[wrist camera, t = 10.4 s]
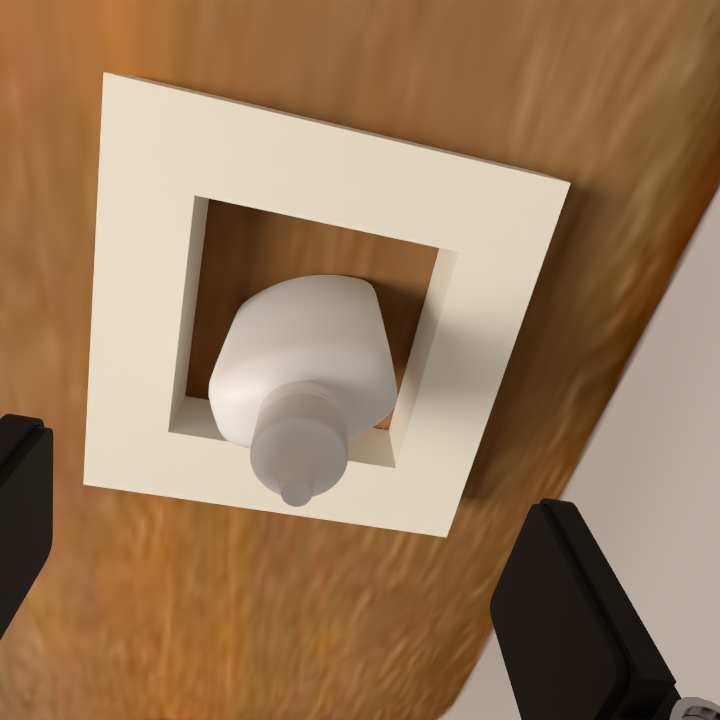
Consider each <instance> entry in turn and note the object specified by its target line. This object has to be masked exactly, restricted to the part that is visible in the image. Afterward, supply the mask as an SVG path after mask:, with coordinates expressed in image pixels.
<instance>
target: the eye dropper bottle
mask: <svg viewBox="0 0 720 720" xmlns="http://www.w3.org/2000/svg"><path fill="white" fill-rule="evenodd" d="M208 396H209V400H210V404H211V408H212V411H213V415H214V418H215V421H216V424H217V426H218V429H219V431H220V433H221V434H222V435H223V437H224V438H225V439H226V440H228V441H229V442H231V443H233V444H235V445H238V446H242V447H245V448H249V449H250V460H251V463H250V464H251V465H252V469H253V470H254V471H253V472H254V473H255V474H256V477H257V478H258V480H259V481H261V483H262V484H263V485H265V487H267V488H268V489H269V490H271V491H272V492H275V493H276V494H279V495H281V497H282V499H283V501H284V502H285V503H286V504H288V505H290V506H294V507H300V506H303V505H305V504H307V503H308V502H309V501H310V500H311V498H312V497H313V496H316V495H320V494H321V493H325V491H328V490H329V489H330V488H333V486H334V485H336V483H337V482H339V479H341V478H342V475H343V474H344V471H345V470H346V466H347V462H348V443H347V441H348V440H350V439H352V438H354V437H356V436H358V435H360V434H362V433H364V432H365V431H367V430H369V429H370V428H372V427H373V426H375V425H376V424H378V423H379V422H381V421H382V420H383V419H384V418H386V417H387V416H388V415H389V414H390V413H391V412H392V410H393V409H394V408H395V406H396V402H397V387H396V380H395V374H394V368H393V363H392V358H391V354H390V349H389V344H388V340H387V336H386V332H385V328H384V324H383V320H382V316H381V312H380V308H379V304H378V300H377V296H376V293H375V290H374V289H373V287H372V285H371V284H369V283H368V282H366V281H365V280H361V279H358V278H353V277H348V276H340V275H311V276H304V277H298V278H294V279H290V280H287V281H284V282H281V283H278V284H276V285H273V286H271V287H269V288H267V289H265V290H263V291H261V292H259V293H257V294H256V295H254V296H253V297H251V298H250V299H248V300H247V301H246V302H244V303H243V304H242V305H241V307H240V308H239V310H238V311H237V313H236V316H235V318H234V320H233V323H232V325H231V328H230V330H229V333H228V335H227V337H226V340H225V342H224V345H223V347H222V350H221V352H220V355H219V357H218V360H217V362H216V365H215V367H214V370H213V373H212V376H211V379H210V382H209V395H208Z"/></svg>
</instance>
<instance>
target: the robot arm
mask: <svg viewBox="0 0 720 720" xmlns="http://www.w3.org/2000/svg"><path fill="white" fill-rule="evenodd" d="M52 538H53V431H52V429H50V428H45V427H44V423H43V421H42V420H41V419H39V418H33V417H26V416H20V415H14V414H6V415H5V416H3V417H2V418H1V419H0V640H1V638H2V636H3V635H4V633H5V631H6V629H7V628H8V626H9V624H10V622H11V621H12V619H13V617H14V616H15V614H16V612H17V610H18V609H19V607H20V605H21V603H22V602H23V600H24V598H25V597H26V595H27V593H28V591H29V590H30V588H31V586H32V584H33V583H34V581H35V579H36V578H37V576H38V574H39V572H40V571H41V569H42V567H43V566H44V564H45V562H46V560H47V558H48V556H49V553H50V550H51V546H52ZM490 614H491V619H492V622H493V625H494V629H495V632H496V635H497V639H498V642H499V645H500V648H501V652H502V655H503V659H504V662H505V665H506V669H507V672H508V675H509V679H510V682H511V685H512V689H513V692H514V696H515V699H516V702H517V705H518V709H519V712H520V716H521V719H522V720H720V706H718V705H716V704H714V703H713V702H711V701H707V700H704V699H701V698H698V697H685V698H683V699H681V697H680V695H679V693H678V692H677V690H676V688H675V686H674V685H675V683H676V680H675V679H674V677H673V675H672V674H671V672H670V670H669V668H668V666H667V665H666V663H665V661H664V659H663V658H662V656H661V654H660V652H659V651H658V649H657V647H656V646H655V644H654V642H653V640H652V638H651V637H650V635H649V633H648V631H647V630H646V628H645V626H644V624H643V623H642V621H641V619H640V617H639V616H638V614H637V612H636V611H635V609H634V607H633V606H632V603H631V602H630V600H629V598H628V596H627V595H626V593H625V591H624V590H623V588H622V586H621V584H620V583H619V581H618V579H617V577H616V575H615V574H614V572H613V570H612V568H611V567H610V565H609V563H608V561H607V560H606V558H605V556H604V555H603V553H602V551H601V549H600V548H599V546H598V544H597V542H596V540H595V539H594V537H593V535H592V533H591V532H590V530H589V528H588V526H587V525H586V523H585V521H584V520H583V518H582V516H581V514H580V512H579V511H578V509H577V507H576V506H575V505H574V504H573V503H571V502H566V501H561V500H554V499H548V498H545V499H542V500H541V501H540V503H539V504H534V505H532V506H531V508H530V510H529V512H528V515H527V517H526V519H525V522H524V524H523V526H522V529H521V531H520V533H519V535H518V538H517V540H516V542H515V545H514V547H513V549H512V552H511V554H510V556H509V558H508V561H507V563H506V565H505V568H504V570H503V572H502V575H501V577H500V579H499V581H498V584H497V586H496V588H495V591H494V593H493V595H492V598H491V603H490Z"/></svg>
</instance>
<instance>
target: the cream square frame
mask: <svg viewBox="0 0 720 720" xmlns="http://www.w3.org/2000/svg"><path fill="white" fill-rule="evenodd" d="M570 184H571V183H569V182H566V181H564V180H561V179H558V178H555V177H552V176H549V175H546V174H543V173H540V172H536V171H532V170H528V169H523V168H519V167H515V166H511V165H507V164H502V163H498V162H494V161H490V160H485V159H481V158H477V157H473V156H469V155H464V154H460V153H456V152H452V151H448V150H443V149H439V148H435V147H431V146H427V145H422V144H418V143H414V142H410V141H406V140H401V139H397V138H393V137H389V136H385V135H380V134H376V133H372V132H368V131H364V130H359V129H355V128H351V127H347V126H343V125H338V124H334V123H330V122H326V121H321V120H317V119H313V118H309V117H305V116H300V115H296V114H292V113H288V112H284V111H279V110H275V109H271V108H267V107H263V106H258V105H254V104H250V103H246V102H242V101H237V100H233V99H229V98H225V97H221V96H216V95H212V94H208V93H204V92H200V91H195V90H191V89H187V88H183V87H179V86H174V85H170V84H166V83H162V82H158V81H153V80H149V79H145V78H141V77H136V76H131V75H123V74H114V73H106V72H104V76H103V97H102V117H101V137H100V158H99V178H98V199H97V219H96V239H95V260H94V280H93V300H92V321H91V341H90V362H89V382H88V402H87V423H86V443H85V463H84V485H91V486H98V487H105V488H112V489H119V490H126V491H132V492H139V493H146V494H153V495H160V496H167V497H174V498H180V499H187V500H194V501H201V502H208V503H215V504H222V505H229V506H235V507H242V508H249V509H256V510H263V511H270V512H277V513H283V514H290V515H297V516H304V517H311V518H318V519H325V520H332V521H338V522H345V523H352V524H359V525H366V526H373V527H380V528H386V529H393V530H400V531H407V532H414V533H421V534H428V535H435V536H441V537H447V535H448V532H449V529H450V527H451V524H452V521H453V518H454V515H455V512H456V509H457V507H458V504H459V501H460V498H461V495H462V492H463V489H464V487H465V484H466V481H467V478H468V475H469V472H470V469H471V467H472V464H473V461H474V458H475V455H476V452H477V449H478V447H479V444H480V441H481V438H482V435H483V432H484V429H485V426H486V424H487V421H488V418H489V415H490V412H491V409H492V406H493V404H494V401H495V398H496V395H497V392H498V389H499V386H500V384H501V381H502V378H503V375H504V372H505V369H506V366H507V364H508V361H509V358H510V355H511V352H512V349H513V346H514V344H515V341H516V338H517V335H518V332H519V329H520V326H521V324H522V321H523V318H524V315H525V312H526V309H527V306H528V304H529V301H530V298H531V295H532V292H533V289H534V286H535V284H536V281H537V278H538V275H539V272H540V269H541V266H542V264H543V261H544V258H545V255H546V252H547V249H548V246H549V244H550V241H551V238H552V235H553V232H554V229H555V226H556V224H557V221H558V218H559V215H560V212H561V209H562V206H563V204H564V201H565V198H566V195H567V192H568V189H569V186H570ZM209 199H214V200H219V201H223V202H228V203H233V204H237V205H242V206H247V207H251V208H256V209H261V210H265V211H270V212H275V213H279V214H284V215H289V216H293V217H298V218H303V219H307V220H312V221H317V222H321V223H326V224H331V225H335V226H340V227H345V228H349V229H354V230H359V231H363V232H368V233H373V234H377V235H382V236H387V237H391V238H396V239H401V240H405V241H410V242H415V243H419V244H424V245H429V246H433V247H438V248H439V251H438V255H437V258H436V262H435V266H434V269H433V273H432V276H431V280H430V284H429V287H428V291H427V294H426V298H425V302H424V305H423V309H422V312H421V316H420V320H419V323H418V327H417V330H416V334H415V338H414V341H413V345H412V348H411V352H410V356H409V359H408V363H407V366H406V370H405V374H404V377H403V381H402V384H401V388H400V392H399V395H398V399H397V402H396V406H395V410H394V413H393V417H392V420H391V424H390V428H389V430H384V429H378V428H370V429H369V430H367V431H365V432H364V433H362V434H360V435H358V436H356V437H354V438H352V439H350V440H348V441H347V443H348V462H347V466H346V470H345V471H344V474H343V475H342V478H341V479H339V482H337V483H336V485H334V486H333V488H330V489H329V490H328V491H325V493H321V494H320V495H316V496H313V497H312V498H311V500H310V501H309V502H308V503H307V504H305V505H303V506H300V507H294V506H290V505H288V504H286V503H285V502H284V501H283V499H282V497H281V495H279V494H276V493H275V492H272V491H271V490H269V489H268V488H267V487H265V485H263V484H262V483H261V481H259V480H258V478H257V477H256V474H255V473H254V472H253V471H254V470H253V469H252V465H251V464H250V463H251V460H250V449H249V448H245V447H242V446H238V445H235V444H233V443H231V442H229V441H228V440H226V439H225V438H224V437H223V435H222V434H221V433H220V431H219V429H218V426H217V424H216V421H215V418H214V415H213V411H212V408H211V404H210V400H206V399H200V398H194V397H188V396H185V393H186V385H187V377H188V368H189V360H190V352H191V344H192V335H193V327H194V319H195V310H196V302H197V294H198V286H199V277H200V269H201V261H202V252H203V244H204V236H205V228H206V219H207V211H208V203H209Z"/></svg>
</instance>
